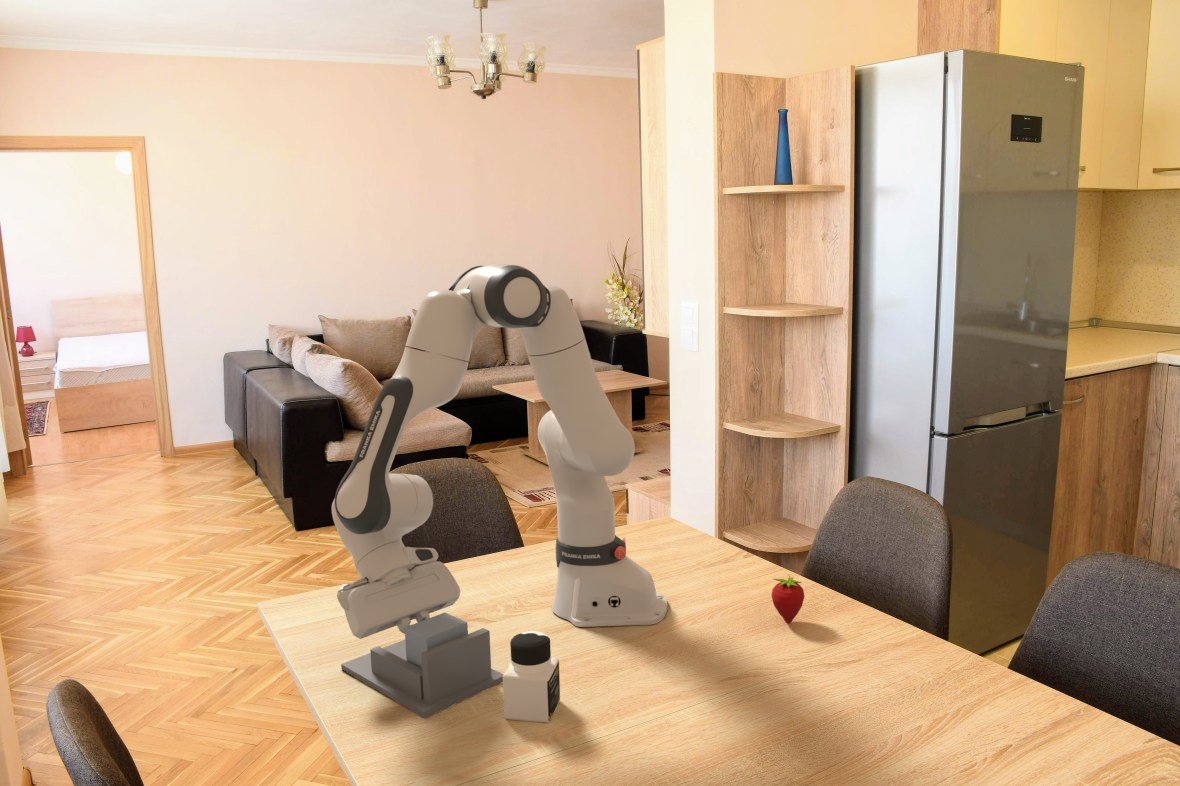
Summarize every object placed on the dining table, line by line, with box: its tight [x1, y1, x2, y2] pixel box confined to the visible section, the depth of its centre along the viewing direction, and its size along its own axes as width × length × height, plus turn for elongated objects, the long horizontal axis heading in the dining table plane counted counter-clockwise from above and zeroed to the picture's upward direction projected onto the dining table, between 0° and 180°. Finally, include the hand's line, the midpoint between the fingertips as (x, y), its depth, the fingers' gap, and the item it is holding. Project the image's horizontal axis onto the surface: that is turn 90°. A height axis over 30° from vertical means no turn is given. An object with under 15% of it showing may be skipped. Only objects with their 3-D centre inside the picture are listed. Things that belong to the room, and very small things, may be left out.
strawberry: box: [771, 575, 805, 624], centre depth 170 cm, size 6×8×10 cm
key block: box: [404, 612, 469, 669], centre depth 149 cm, size 6×8×9 cm
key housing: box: [340, 627, 504, 719], centre depth 152 cm, size 24×16×9 cm, turn 46°
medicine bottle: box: [502, 630, 561, 724], centre depth 140 cm, size 7×7×12 cm
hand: (424, 641), depth 151 cm, fingers closed, pressing on key block
